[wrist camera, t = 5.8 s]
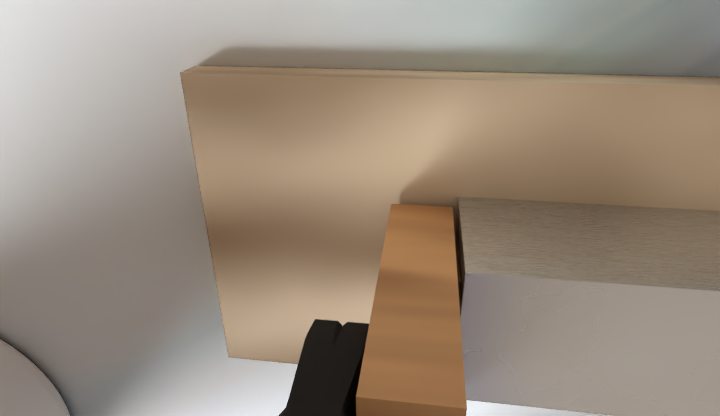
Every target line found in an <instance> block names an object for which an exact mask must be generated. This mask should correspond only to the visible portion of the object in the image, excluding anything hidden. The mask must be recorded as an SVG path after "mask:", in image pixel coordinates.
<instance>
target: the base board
mask: <svg viewBox="0 0 720 416" xmlns="http://www.w3.org/2000/svg"><path fill="white" fill-rule="evenodd" d="M180 75H181V81H182V87H183V93H184V99H185V104H186V110H187V116H188V122H189V128H190V134H191V139H192V145H193V151H194V157H195V163H196V169H197V174H198V180H199V186H200V192H201V198H202V204H203V209H204V215H205V221H206V227H207V233H208V239H209V245H210V250H211V256H212V262H213V268H214V274H215V280H216V285H217V291H218V297H219V303H220V309H221V315H222V320H223V326H224V332H225V338H226V344H227V350H228V355H229V357H232V358H242V359H252V360H262V361H272V362H282V363H292V364H298V363H299V359H300V355H301V352H302V348H303V344H304V341H305V338H306V335H307V333H308V331H309V329H310V327H311V326H312V324H313V322H314V320H315V319H320V320H332V321H339V322H340V323H341V324H342V327H343V325H344V324H345V323H347V322H356V323H368V324H369V323H370V317H371V312H372V306H373V301H374V295H375V290H376V284H377V279H378V273H379V268H380V262H381V257H382V251H383V246H384V240H385V235H386V229H387V224H388V218H389V213H390V207H391V204H405V205H422V206H440V207H453V219H454V233H455V226H456V215H457V205H458V197H474V198H492V199H511V200H529V201H548V202H566V203H585V204H603V205H622V206H640V207H659V208H677V209H696V210H714V211H720V77H681V76H637V75H592V74H547V73H503V72H458V71H414V70H369V69H324V68H280V67H235V66H195V67H192V68H190V69H188V70H186V71H183V72H181V73H180Z"/></svg>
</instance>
